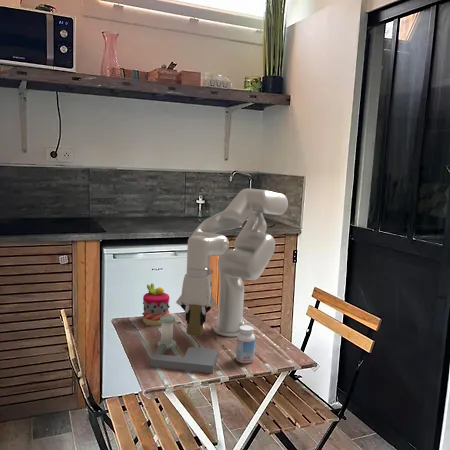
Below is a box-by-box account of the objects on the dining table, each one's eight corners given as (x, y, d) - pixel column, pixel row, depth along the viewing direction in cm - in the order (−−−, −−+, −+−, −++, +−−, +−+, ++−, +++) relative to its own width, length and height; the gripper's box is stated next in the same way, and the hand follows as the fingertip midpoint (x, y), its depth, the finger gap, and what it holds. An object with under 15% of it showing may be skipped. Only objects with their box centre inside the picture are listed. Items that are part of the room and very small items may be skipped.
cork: (201, 336, 155) (202, 305, 154) (184, 334, 157) (185, 303, 155) (205, 330, 161) (207, 300, 160) (189, 328, 162) (190, 298, 161)
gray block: (218, 356, 154) (218, 349, 154) (212, 373, 142) (212, 365, 142) (160, 350, 156) (160, 343, 156) (150, 366, 144) (150, 359, 144)
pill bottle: (255, 357, 155) (257, 326, 153) (250, 365, 149) (253, 332, 147) (238, 354, 157) (240, 323, 155) (233, 361, 151) (235, 329, 149)
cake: (171, 318, 188) (172, 282, 185) (165, 327, 177) (166, 290, 175) (146, 316, 189) (147, 280, 186) (139, 325, 178) (139, 288, 176)
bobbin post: (177, 342, 164) (178, 315, 162) (173, 349, 158) (174, 322, 156) (160, 340, 165) (161, 314, 163) (155, 348, 158) (156, 320, 157)
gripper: (223, 271, 158) (220, 322, 161) (176, 267, 160) (174, 317, 163) (220, 276, 151) (217, 329, 154) (170, 272, 153) (169, 325, 156)
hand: (195, 322), depth 158 cm, fingers closed on cork, 4 cm apart
